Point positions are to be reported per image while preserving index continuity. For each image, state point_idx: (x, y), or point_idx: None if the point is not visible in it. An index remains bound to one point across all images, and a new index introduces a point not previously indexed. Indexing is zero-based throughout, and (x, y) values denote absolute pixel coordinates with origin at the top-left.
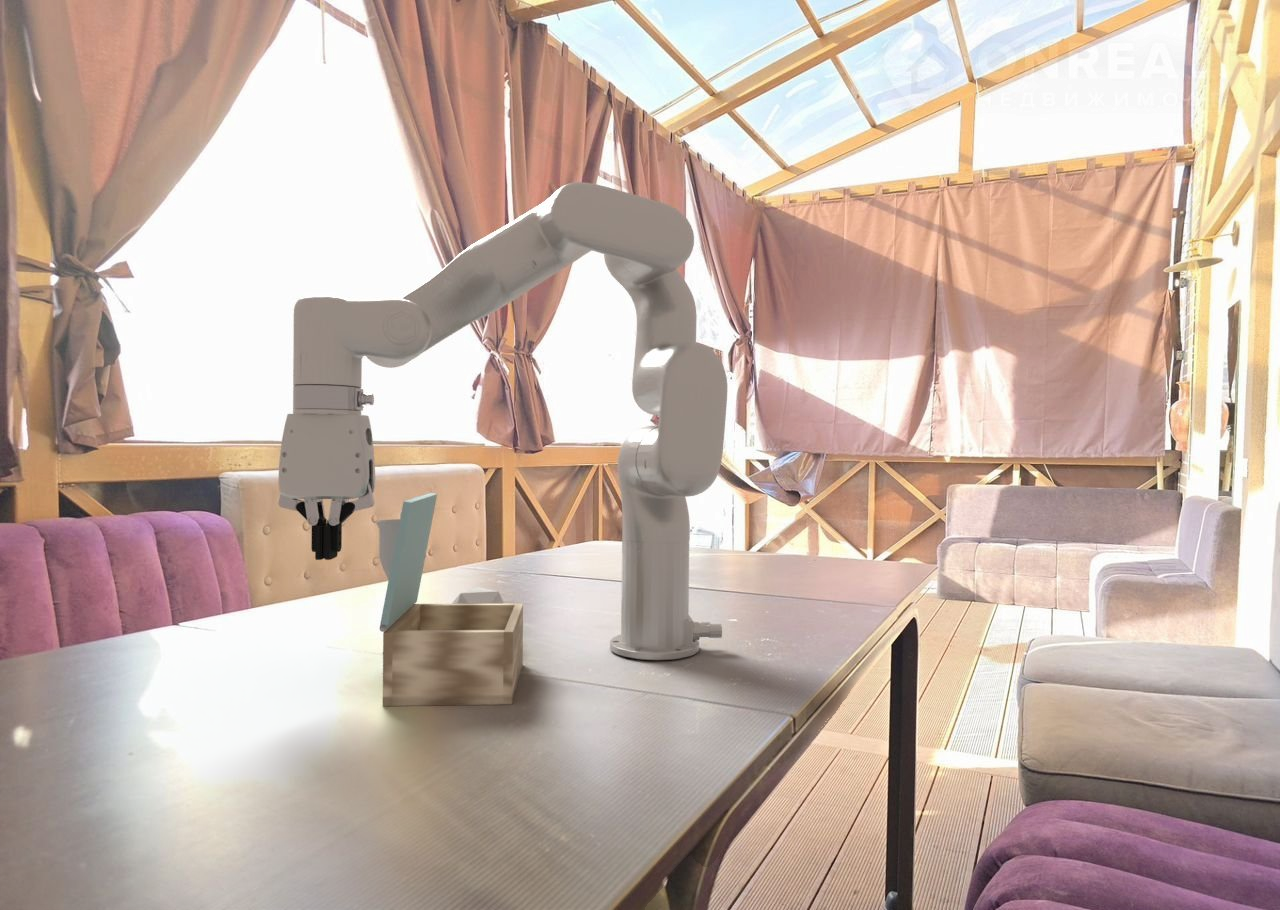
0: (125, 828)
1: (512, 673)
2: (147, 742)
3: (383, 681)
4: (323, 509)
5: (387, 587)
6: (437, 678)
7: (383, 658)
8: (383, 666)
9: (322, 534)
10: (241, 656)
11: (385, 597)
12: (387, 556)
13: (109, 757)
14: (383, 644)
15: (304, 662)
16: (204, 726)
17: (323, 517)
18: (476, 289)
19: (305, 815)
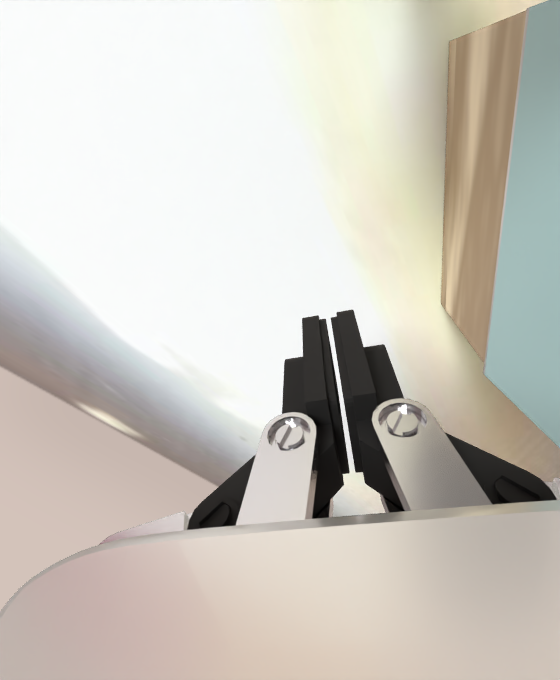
0: (333, 510)
1: None
2: (235, 420)
3: (454, 320)
4: (312, 482)
5: (543, 431)
6: None
7: (468, 341)
8: (463, 334)
9: (345, 445)
10: (2, 39)
11: (526, 415)
12: None
13: (232, 445)
14: (478, 354)
15: (181, 66)
16: (257, 385)
17: (326, 464)
18: None
19: None
